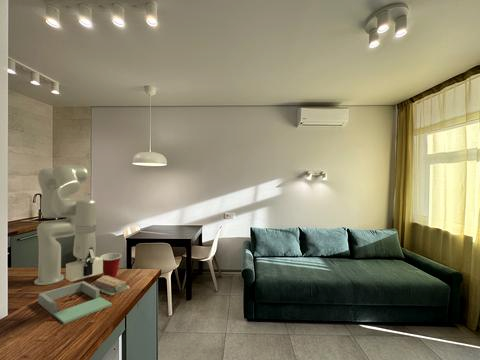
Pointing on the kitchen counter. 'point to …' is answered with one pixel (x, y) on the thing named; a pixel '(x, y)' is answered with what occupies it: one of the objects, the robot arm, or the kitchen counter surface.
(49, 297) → the frame
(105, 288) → the packaged product
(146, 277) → the kitchen counter surface
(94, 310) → the pad
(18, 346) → the kitchen counter surface
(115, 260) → the plastic cup
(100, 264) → the carton
